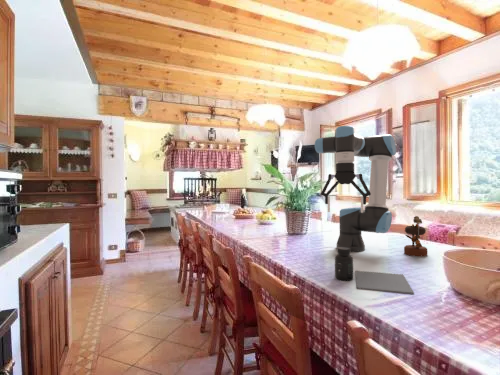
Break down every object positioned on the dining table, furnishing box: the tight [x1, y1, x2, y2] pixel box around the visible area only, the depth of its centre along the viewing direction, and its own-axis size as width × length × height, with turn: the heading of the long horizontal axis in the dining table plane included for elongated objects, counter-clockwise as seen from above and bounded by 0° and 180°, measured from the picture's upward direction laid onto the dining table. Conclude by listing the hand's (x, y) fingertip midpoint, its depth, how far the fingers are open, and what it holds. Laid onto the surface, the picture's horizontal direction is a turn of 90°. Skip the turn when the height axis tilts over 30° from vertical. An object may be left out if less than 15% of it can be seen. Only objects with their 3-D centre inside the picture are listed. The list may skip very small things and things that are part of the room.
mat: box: [354, 270, 415, 295], centre depth 109 cm, size 18×20×1 cm
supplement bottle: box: [334, 247, 354, 282], centre depth 113 cm, size 7×7×12 cm
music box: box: [403, 215, 428, 258], centre depth 150 cm, size 15×11×20 cm
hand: (345, 212), depth 124 cm, fingers open, 13 cm apart
